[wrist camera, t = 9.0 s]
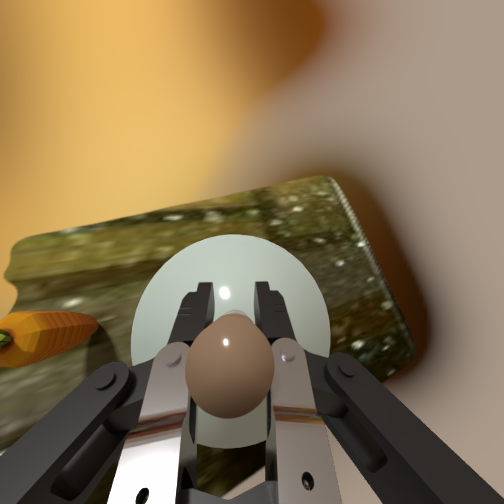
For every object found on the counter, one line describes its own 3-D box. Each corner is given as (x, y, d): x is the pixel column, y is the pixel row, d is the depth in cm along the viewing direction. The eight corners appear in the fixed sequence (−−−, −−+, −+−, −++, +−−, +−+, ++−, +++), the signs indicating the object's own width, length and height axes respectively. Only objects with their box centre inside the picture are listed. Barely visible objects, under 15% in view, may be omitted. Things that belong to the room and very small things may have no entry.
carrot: (93, 301, 28) (-60, 300, 14) (122, 317, 28) (-2, 333, 13) (70, 334, 27) (-127, 371, 12) (100, 350, 27) (-64, 409, 12)
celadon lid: (164, 476, 12) (-109, 1127, 3) (123, 269, 15) (-72, 211, 6) (353, 384, 14) (590, 548, 5) (283, 220, 17) (341, 117, 8)
